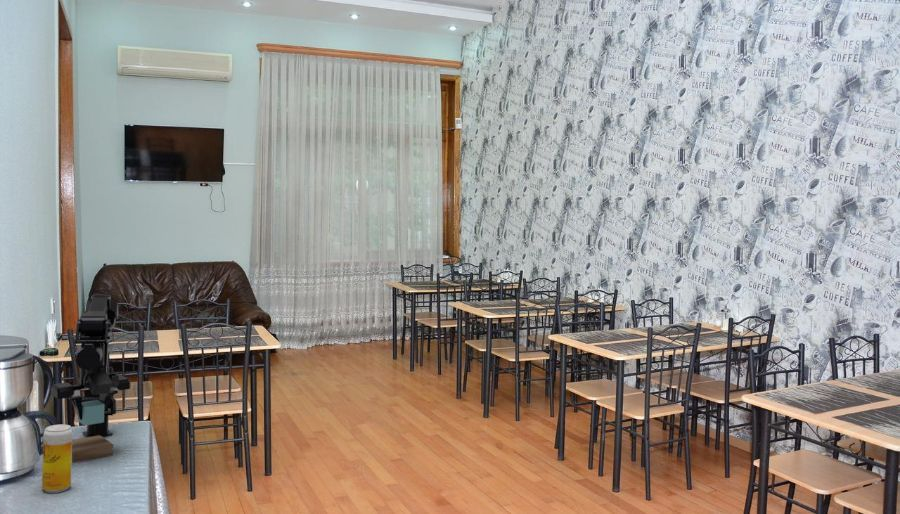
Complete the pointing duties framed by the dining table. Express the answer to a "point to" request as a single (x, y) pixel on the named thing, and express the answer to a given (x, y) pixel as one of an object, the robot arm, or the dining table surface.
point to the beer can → (57, 458)
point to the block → (92, 412)
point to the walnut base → (90, 448)
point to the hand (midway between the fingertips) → (90, 417)
